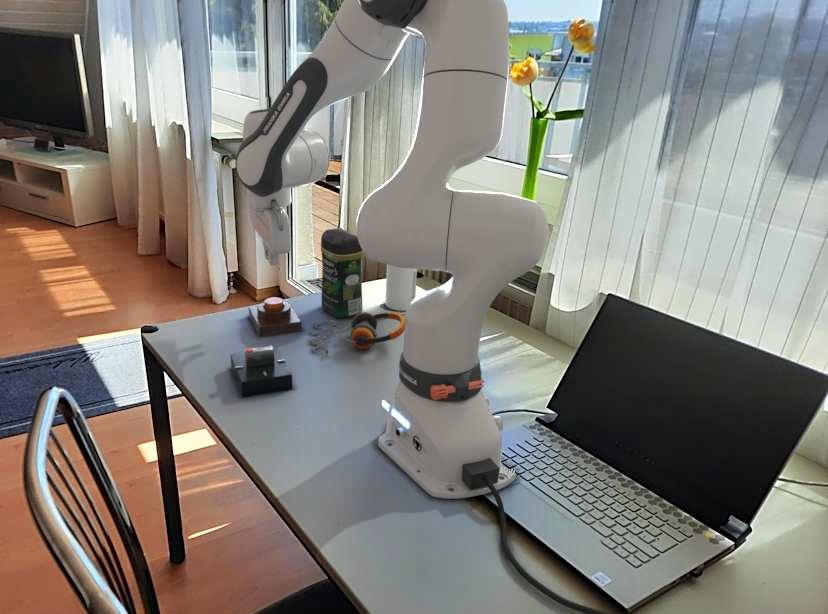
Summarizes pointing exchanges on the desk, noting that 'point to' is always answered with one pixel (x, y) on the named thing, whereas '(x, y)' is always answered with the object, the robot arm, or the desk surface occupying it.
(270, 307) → the button
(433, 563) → the desk surface
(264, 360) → the dial
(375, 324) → the headphones
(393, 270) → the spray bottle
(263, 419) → the desk surface
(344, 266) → the coffee jar
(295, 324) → the button block
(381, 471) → the desk surface
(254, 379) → the dial panel
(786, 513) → the desk surface
